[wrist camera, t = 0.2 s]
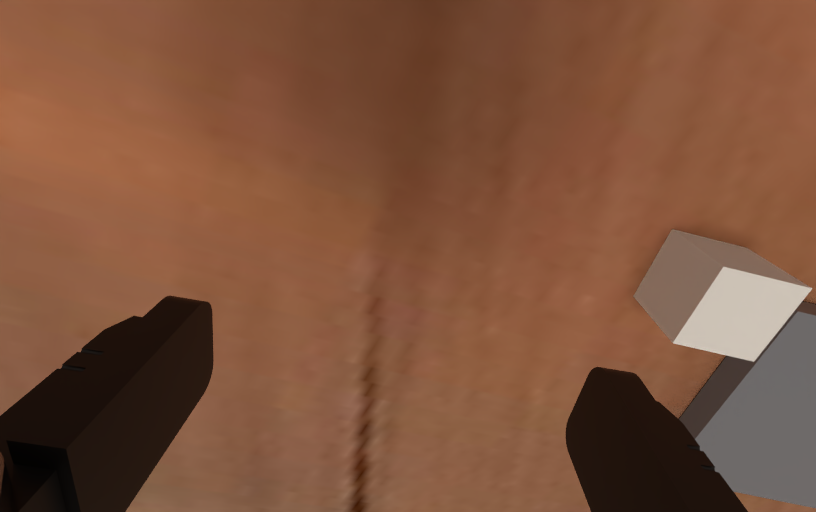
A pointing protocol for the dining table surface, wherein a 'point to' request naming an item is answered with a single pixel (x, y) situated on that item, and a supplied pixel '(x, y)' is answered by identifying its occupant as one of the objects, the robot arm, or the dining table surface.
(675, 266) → the cube
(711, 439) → the slate board
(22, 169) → the dining table surface
